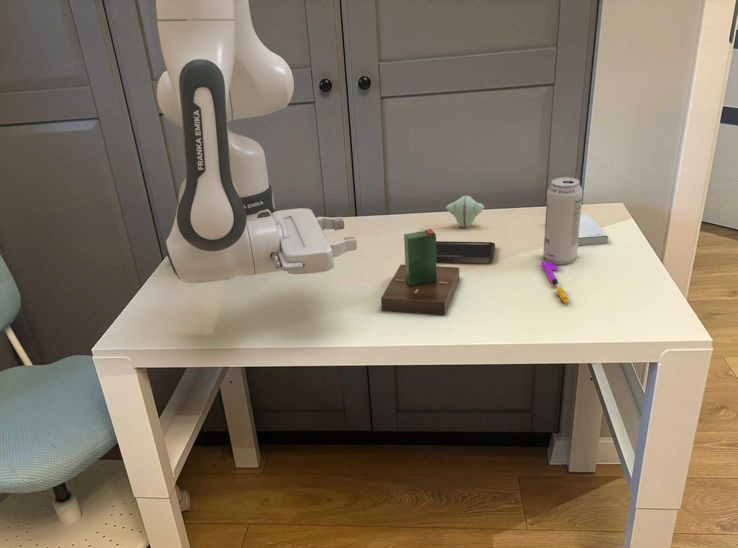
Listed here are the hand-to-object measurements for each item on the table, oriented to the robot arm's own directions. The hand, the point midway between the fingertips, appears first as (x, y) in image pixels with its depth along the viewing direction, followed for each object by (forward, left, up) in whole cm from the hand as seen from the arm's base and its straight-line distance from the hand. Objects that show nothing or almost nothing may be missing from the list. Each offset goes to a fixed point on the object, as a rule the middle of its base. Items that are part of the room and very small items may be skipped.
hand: (349, 232), depth 119 cm
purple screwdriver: (+36, -2, -14) cm, 39 cm away
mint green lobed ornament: (+28, +30, -14) cm, 43 cm away
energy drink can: (+40, +8, -14) cm, 43 cm away
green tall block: (+12, +1, -11) cm, 17 cm away
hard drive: (+48, +19, -14) cm, 53 cm away
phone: (+22, +16, -14) cm, 31 cm away
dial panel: (+12, +1, -14) cm, 18 cm away
